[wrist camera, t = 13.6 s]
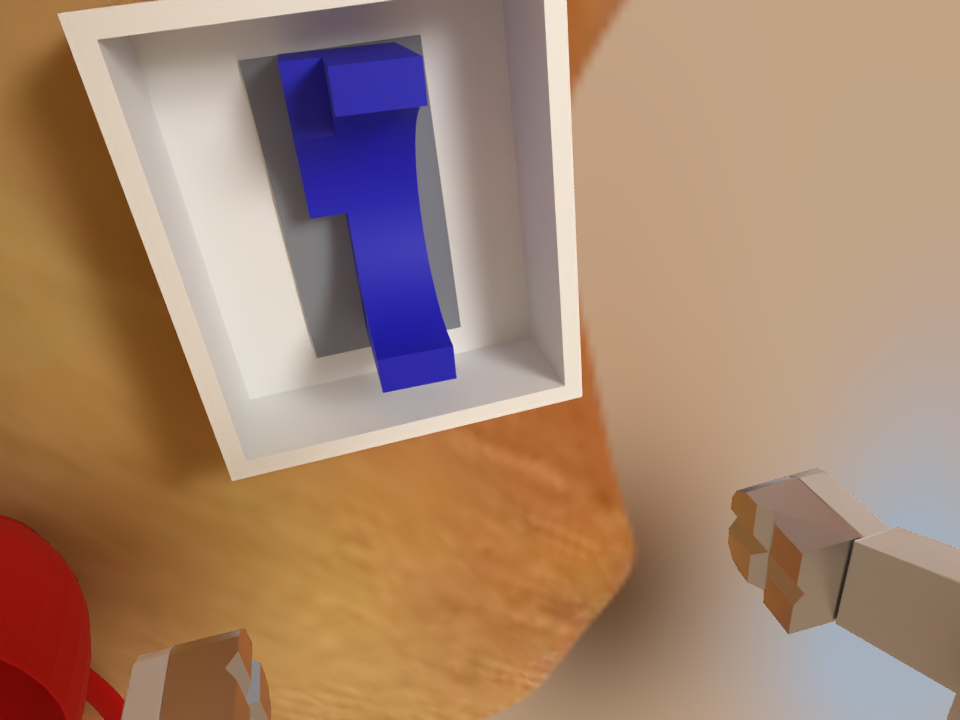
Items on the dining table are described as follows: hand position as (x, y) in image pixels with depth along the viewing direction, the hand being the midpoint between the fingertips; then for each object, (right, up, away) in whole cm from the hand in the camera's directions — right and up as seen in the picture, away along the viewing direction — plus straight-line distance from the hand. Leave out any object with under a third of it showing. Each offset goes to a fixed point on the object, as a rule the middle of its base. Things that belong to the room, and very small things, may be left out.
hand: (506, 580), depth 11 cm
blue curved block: (-6, +10, +19) cm, 22 cm away
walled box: (-6, +11, +20) cm, 23 cm away
